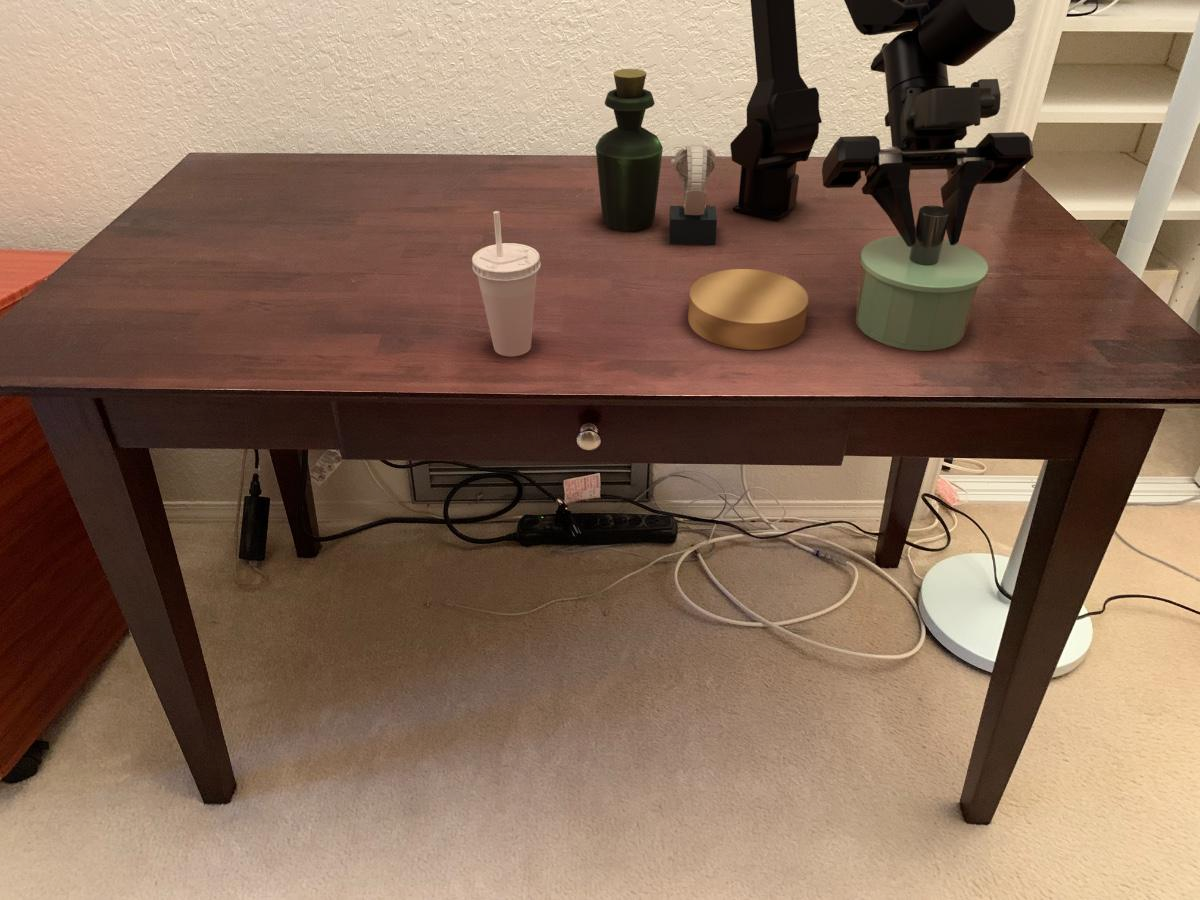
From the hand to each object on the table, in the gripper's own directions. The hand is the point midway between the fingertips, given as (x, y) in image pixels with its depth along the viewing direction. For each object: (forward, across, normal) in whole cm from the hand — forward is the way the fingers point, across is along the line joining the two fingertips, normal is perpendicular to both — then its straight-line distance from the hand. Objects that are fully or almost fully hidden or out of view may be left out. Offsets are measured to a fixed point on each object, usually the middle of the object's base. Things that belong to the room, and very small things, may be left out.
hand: (933, 244), depth 87 cm
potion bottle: (-14, -27, +28) cm, 41 cm away
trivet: (+4, -17, +9) cm, 19 cm away
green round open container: (+6, 0, +8) cm, 10 cm away
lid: (+1, 0, +3) cm, 3 cm away
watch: (-11, -19, +24) cm, 33 cm away
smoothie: (+7, -41, +6) cm, 42 cm away
